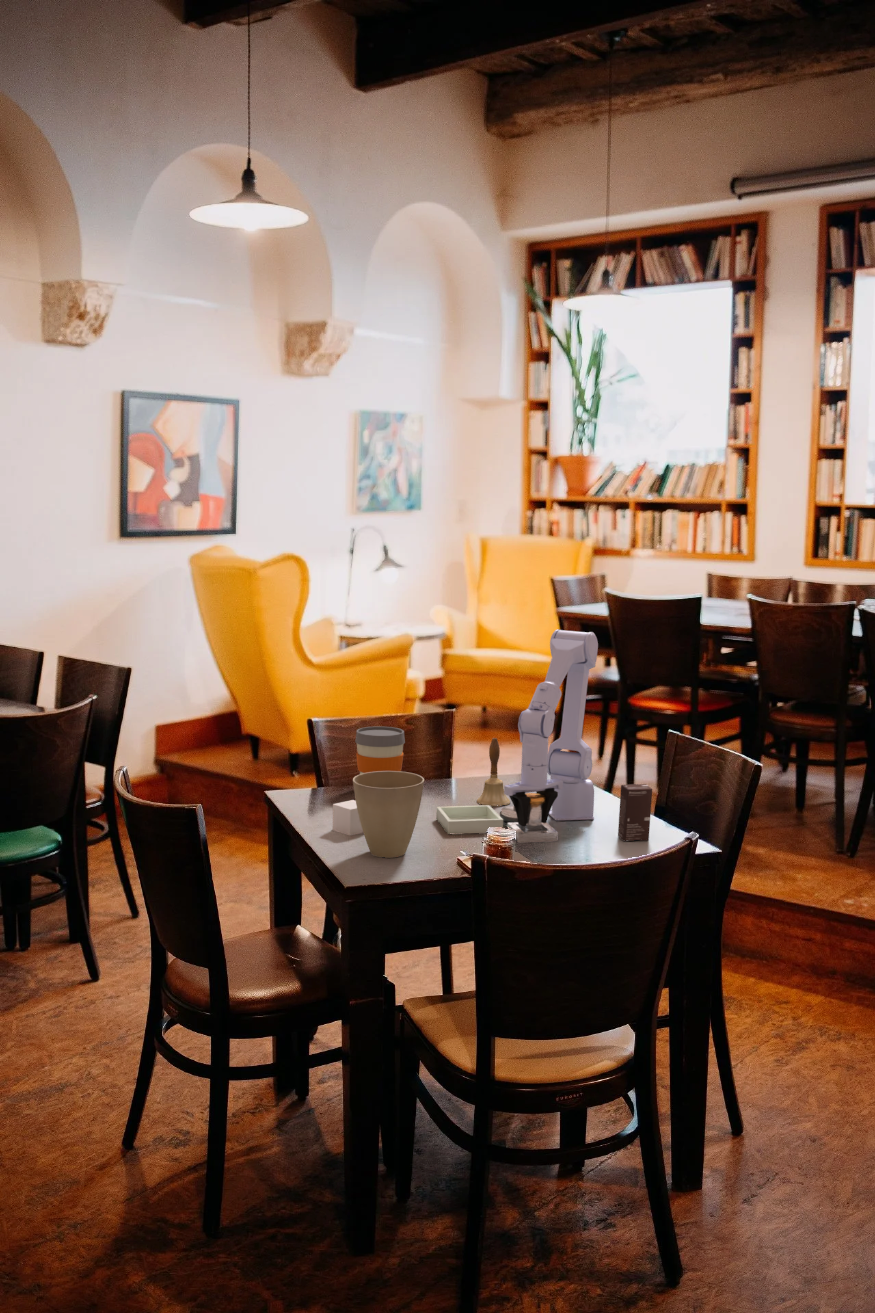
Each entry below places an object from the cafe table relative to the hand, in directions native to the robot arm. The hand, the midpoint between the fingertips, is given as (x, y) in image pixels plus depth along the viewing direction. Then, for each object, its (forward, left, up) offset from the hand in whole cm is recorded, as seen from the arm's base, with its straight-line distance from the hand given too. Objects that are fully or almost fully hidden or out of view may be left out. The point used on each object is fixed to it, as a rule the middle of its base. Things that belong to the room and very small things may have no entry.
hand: (532, 823), depth 272 cm
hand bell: (+1, -30, -3) cm, 30 cm away
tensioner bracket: (0, -5, -3) cm, 6 cm away
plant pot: (+34, +8, -3) cm, 35 cm away
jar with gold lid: (0, 0, -3) cm, 3 cm away
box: (-22, +5, -3) cm, 23 cm away
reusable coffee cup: (+27, -46, -3) cm, 54 cm away
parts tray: (+12, -10, -3) cm, 16 cm away
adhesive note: (+39, -10, -3) cm, 40 cm away
